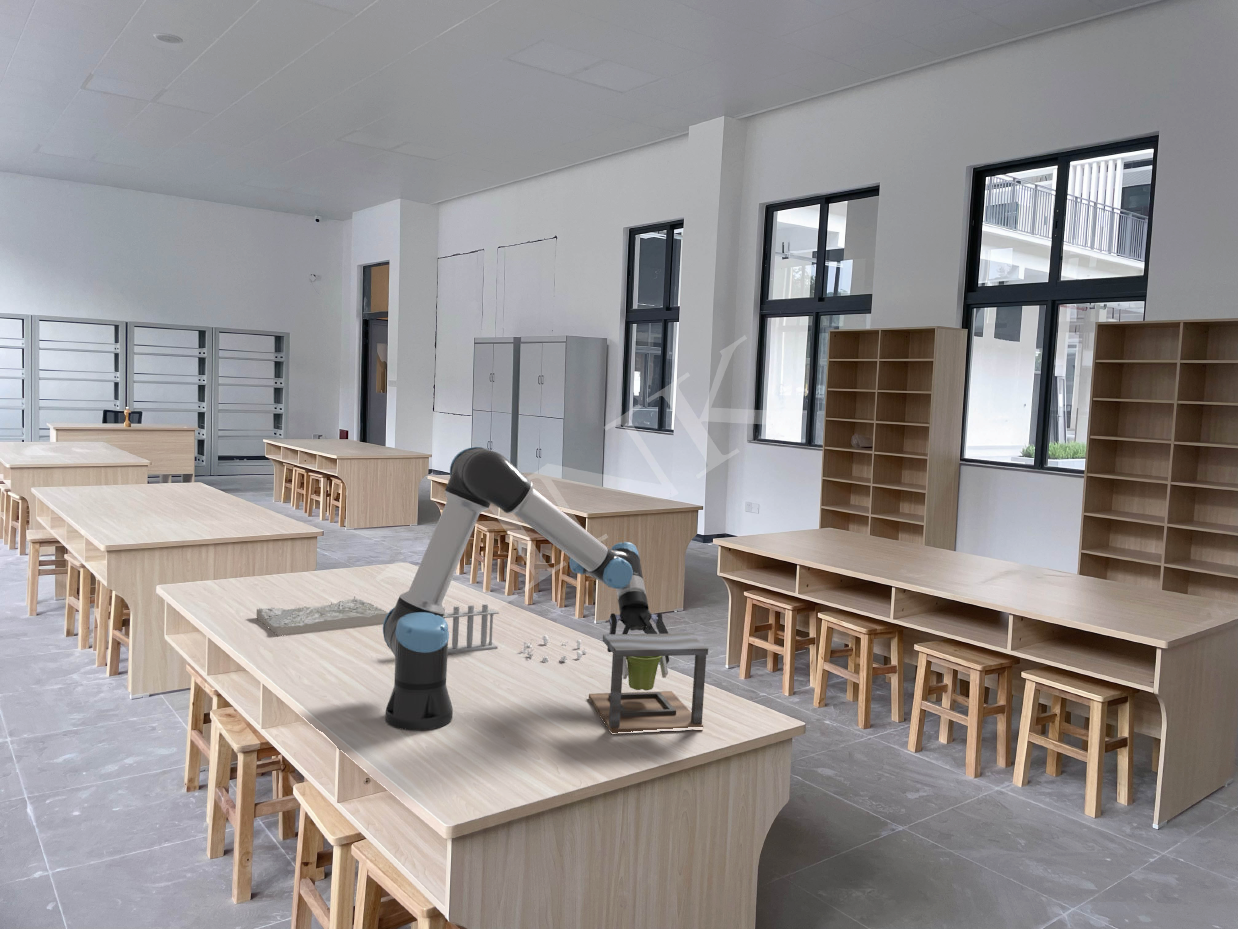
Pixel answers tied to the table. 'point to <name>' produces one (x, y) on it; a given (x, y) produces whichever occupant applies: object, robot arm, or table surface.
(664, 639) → the roofed stand
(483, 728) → the table surface
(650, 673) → the plant pot
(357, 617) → the topographic model
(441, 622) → the robot arm
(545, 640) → the game piece set
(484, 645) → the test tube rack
